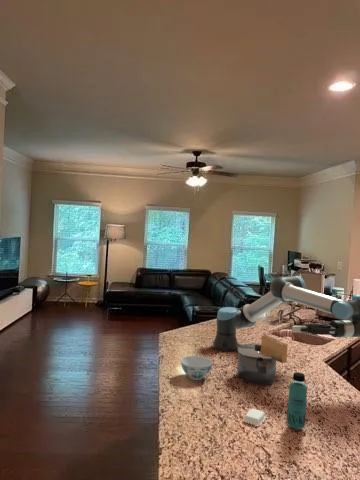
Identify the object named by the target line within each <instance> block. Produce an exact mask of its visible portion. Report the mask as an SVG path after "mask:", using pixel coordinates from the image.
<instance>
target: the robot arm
mask: <svg viewBox="0 0 360 480" xmlns="http://www.w3.org/2000/svg"><path fill="white" fill-rule="evenodd" d="M269 289H270V291H268V292H267V293H266V294H264V295H262V296H261V297H259V299H257V300H255V301H254V302H252V303H251V304H250V303H246V304H245V305H243V306H241V307H239V308H236V307H233V306H225V307H221V308H219V309H218V310H217V315H216V334H215V338H214V340H213V342H212V348H213V349H214V350H218V351H222V352H235V351H238V346H239V342H238V339H237V329H238V330H239V329H244V328H250V327H253V326H254V325H256V323H257V321H258V320H259V317H260V316H262V315H264V314H266V313H268V312H269V311H270V310H272V309H274V308H275V307H277V306H279V305H280V304H282V303H284V304H285V303H289V302H295V303H297V304H300V305H304V306H306V307H309V308H312V309H315V310H319V311H321V312H325V313H328V314H331V315H333V316H334V317H335V318H336V319H338V320H331V321H330V322H329V323H321V322H317V323H305V324H304V325H292V327H291V332H292V333H295V334H298V333H305V334H307V333H309V334H311V335H324V336H325V335H326V336H331V337H333V338H345V339H347V338H360V293H355V294H353V295H352V296H351V297H352V298H351V299H350V300H344V299H341V298H338V297H335V296H330V295H326V294H324V293H320V292H316V291H313V290H310V289H307V285H306V281H305V280H304V279H303V278H302V277H301V276H299V275H292V276H291V275H290V276H287V275H286V276H278V277H275V278H274V279H273V280H272V281H271V282H270V284H269ZM348 319H350V320H348Z"/></svg>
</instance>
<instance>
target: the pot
mask: <svg viewBox="0 0 360 480" xmlns="http://www.w3.org/2000/svg"><path fill="white" fill-rule="evenodd" d="M277 362H278V361H277V360H275V359H273V358H271V359H258V358H252V357H247V356H244V355H242V354H240V353H239V352H238V360H237V378H238V379H239V380H240V379H241V380H240V381H243V382H244V383H247V384H251V385H257V386H266V385H267V386H269V385H272V384H274V383H275V382H276V376H277Z"/></svg>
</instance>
